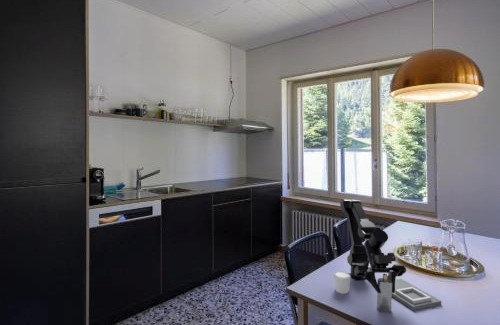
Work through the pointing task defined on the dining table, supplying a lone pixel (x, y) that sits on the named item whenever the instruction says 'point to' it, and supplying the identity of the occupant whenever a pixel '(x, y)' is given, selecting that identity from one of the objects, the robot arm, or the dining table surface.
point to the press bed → (413, 296)
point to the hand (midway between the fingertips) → (386, 292)
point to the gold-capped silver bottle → (384, 294)
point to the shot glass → (342, 282)
